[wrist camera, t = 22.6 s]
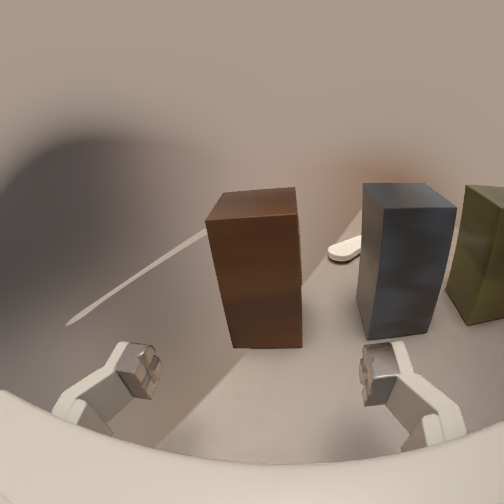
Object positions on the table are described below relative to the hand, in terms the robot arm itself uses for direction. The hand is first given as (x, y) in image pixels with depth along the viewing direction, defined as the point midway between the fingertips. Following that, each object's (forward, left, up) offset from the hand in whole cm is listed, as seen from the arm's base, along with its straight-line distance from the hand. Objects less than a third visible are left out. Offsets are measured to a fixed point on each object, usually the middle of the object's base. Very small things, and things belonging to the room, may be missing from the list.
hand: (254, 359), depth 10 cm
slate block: (-9, -10, -7) cm, 15 cm away
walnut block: (+1, -10, -7) cm, 12 cm away
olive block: (-18, -10, -7) cm, 22 cm away
